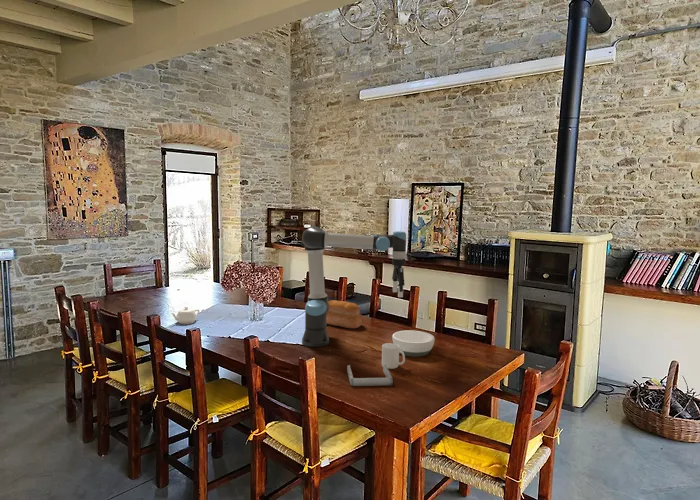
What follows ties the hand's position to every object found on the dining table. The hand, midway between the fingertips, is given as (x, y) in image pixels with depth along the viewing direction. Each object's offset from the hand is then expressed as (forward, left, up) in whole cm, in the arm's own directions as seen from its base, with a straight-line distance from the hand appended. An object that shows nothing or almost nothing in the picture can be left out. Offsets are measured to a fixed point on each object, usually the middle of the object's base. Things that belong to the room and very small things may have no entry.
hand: (397, 294), depth 266 cm
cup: (-10, -45, -26) cm, 53 cm away
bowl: (+5, -23, -27) cm, 35 cm away
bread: (-30, +31, -27) cm, 50 cm away
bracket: (-24, -58, -26) cm, 68 cm away
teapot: (-129, +39, -26) cm, 138 cm away
